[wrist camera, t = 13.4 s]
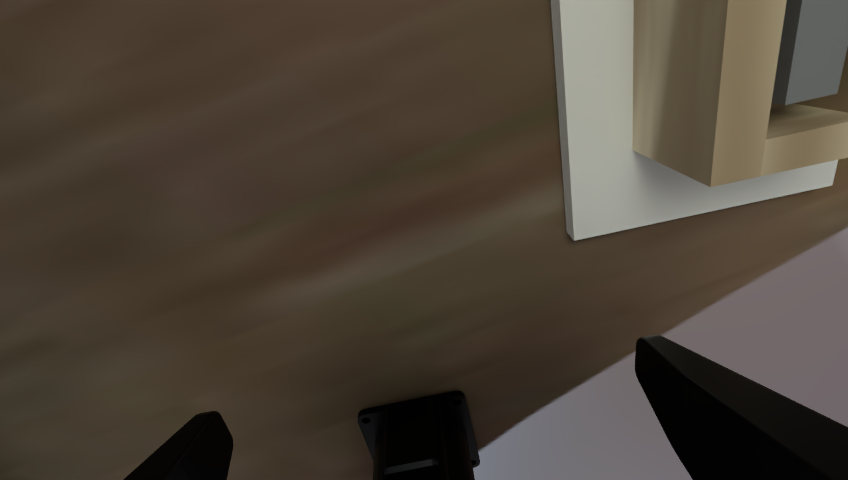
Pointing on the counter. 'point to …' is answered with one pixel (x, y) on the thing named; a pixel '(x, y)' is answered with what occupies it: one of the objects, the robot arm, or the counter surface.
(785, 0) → the beige open box
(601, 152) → the post stand
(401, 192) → the counter surface
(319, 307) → the counter surface
